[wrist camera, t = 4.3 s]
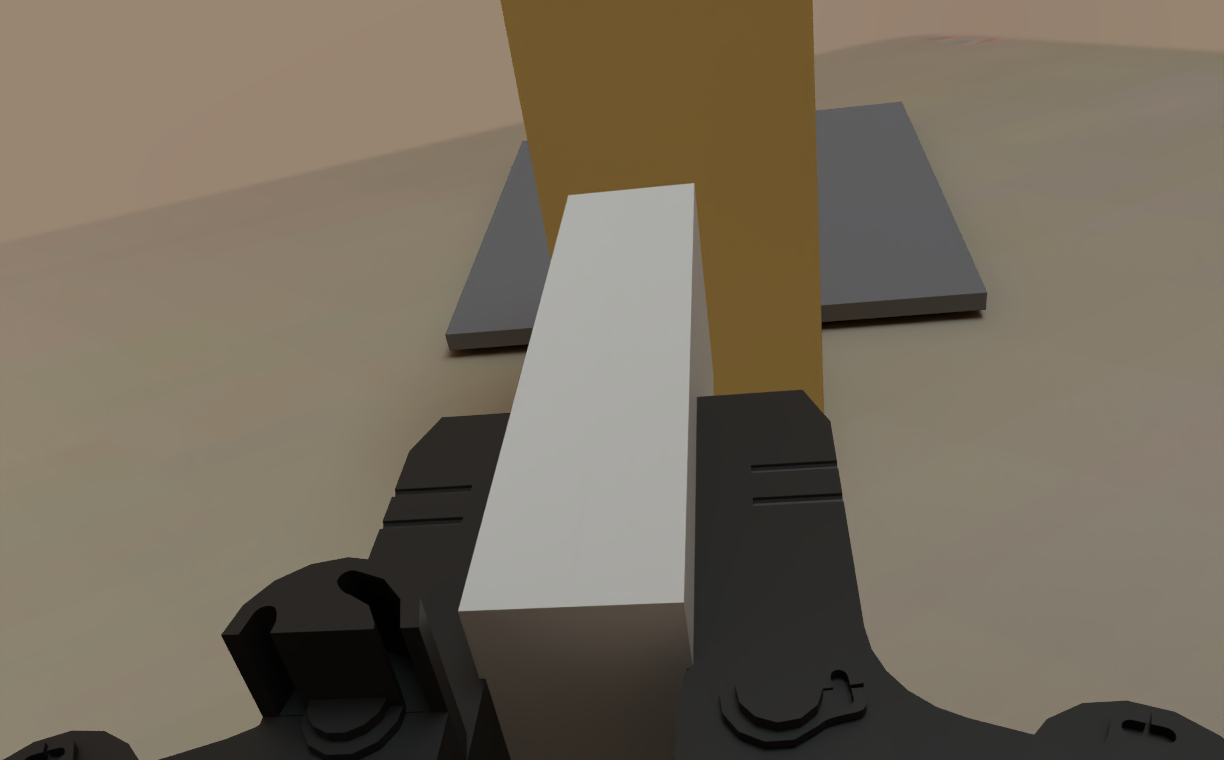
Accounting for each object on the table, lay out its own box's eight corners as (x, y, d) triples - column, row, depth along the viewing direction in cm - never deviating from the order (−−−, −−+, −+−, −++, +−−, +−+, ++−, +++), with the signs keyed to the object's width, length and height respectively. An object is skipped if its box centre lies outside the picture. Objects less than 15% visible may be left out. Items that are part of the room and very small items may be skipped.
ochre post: (806, 340, 26) (781, -329, 18) (825, 467, 22) (803, -329, 14) (611, 355, 26) (505, -283, 19) (593, 480, 22) (449, -271, 15)
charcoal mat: (901, 115, 37) (901, 101, 37) (985, 309, 26) (987, 292, 25) (524, 153, 39) (522, 141, 39) (449, 350, 28) (445, 334, 27)
